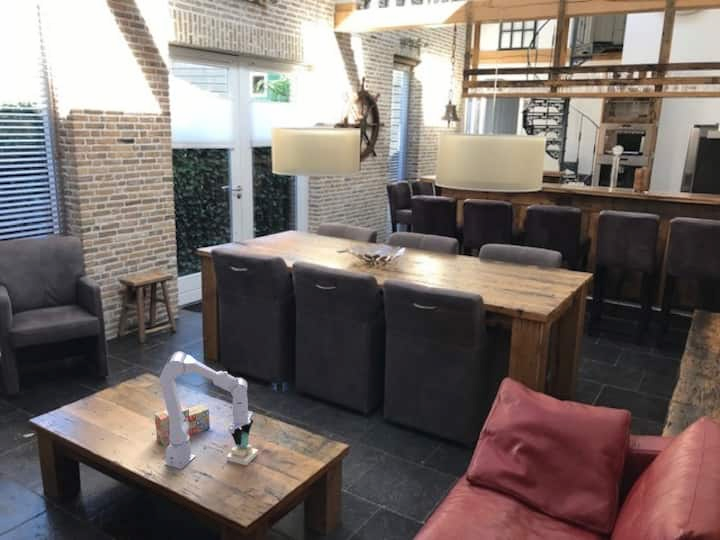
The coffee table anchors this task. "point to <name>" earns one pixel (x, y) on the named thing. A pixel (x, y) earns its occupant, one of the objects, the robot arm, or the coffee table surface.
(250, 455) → the white slab
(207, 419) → the stack of blocks
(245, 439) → the teal rounded piece
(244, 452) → the maple block
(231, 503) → the coffee table surface
